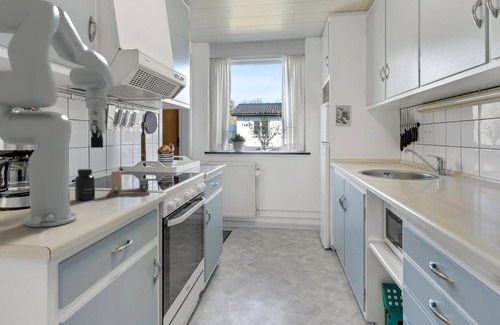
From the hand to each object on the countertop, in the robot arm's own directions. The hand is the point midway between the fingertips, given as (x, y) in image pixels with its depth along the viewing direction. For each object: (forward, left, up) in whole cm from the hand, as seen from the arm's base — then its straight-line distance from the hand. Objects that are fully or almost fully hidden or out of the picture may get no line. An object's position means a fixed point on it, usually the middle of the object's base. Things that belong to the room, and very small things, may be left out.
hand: (97, 147), depth 120 cm
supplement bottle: (-3, +4, -21) cm, 21 cm away
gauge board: (+4, -12, -20) cm, 24 cm away
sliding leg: (+3, -7, -18) cm, 20 cm away
